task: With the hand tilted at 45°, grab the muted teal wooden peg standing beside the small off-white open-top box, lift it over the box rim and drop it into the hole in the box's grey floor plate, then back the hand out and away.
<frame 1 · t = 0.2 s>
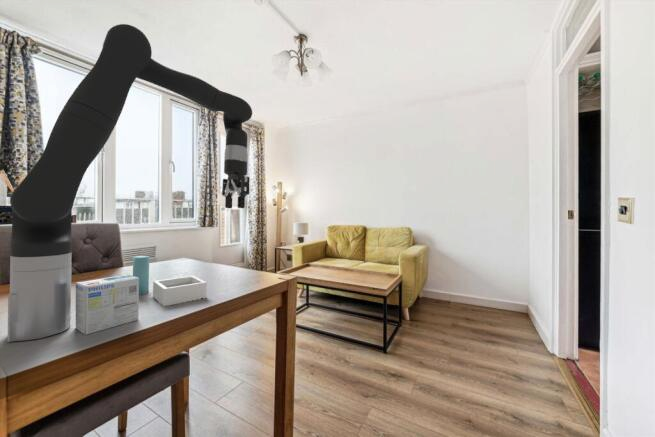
hand: (234, 208, 91), 29 cm above the table, tool pointing down, fingers open, 8 cm apart
peg: (140, 293, 89), on the table
hole box: (179, 297, 85), on the table
light bulb box: (108, 324, 64), on the table
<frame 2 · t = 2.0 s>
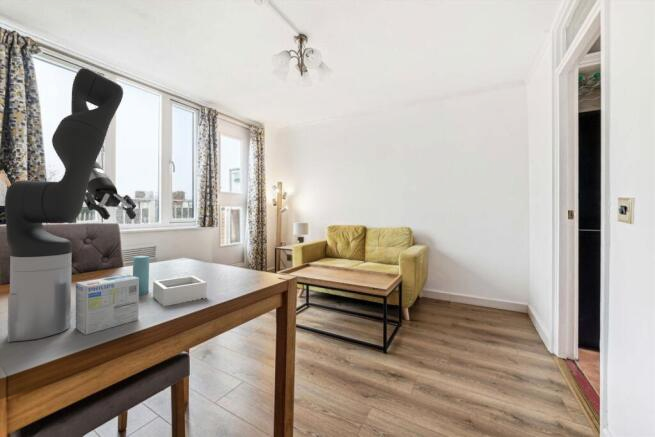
hand: (121, 217, 91), 25 cm above the table, tool tilted 45°, fingers open, 8 cm apart
nothing on the table moved.
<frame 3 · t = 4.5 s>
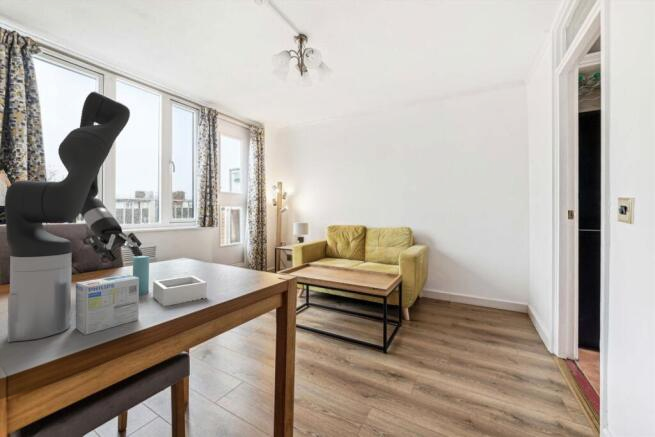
hand: (128, 258, 90), 11 cm above the table, tool tilted 45°, fingers open, 8 cm apart
nothing on the table moved.
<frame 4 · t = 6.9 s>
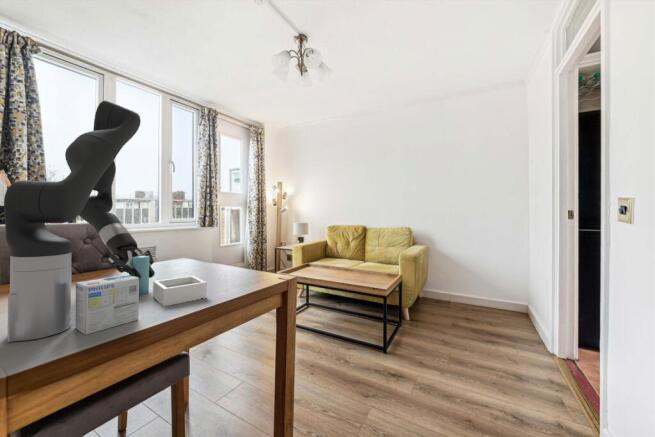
hand: (145, 277, 88), 5 cm above the table, tool tilted 45°, fingers closed on peg, 4 cm apart
peg: (140, 292, 89), on the table, touching gripper
everything else where it was.
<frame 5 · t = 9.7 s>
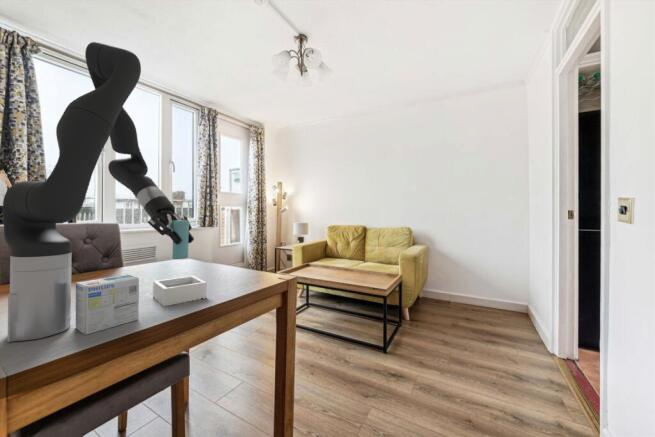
hand: (185, 241, 85), 18 cm above the table, tool tilted 45°, fingers closed on peg, 4 cm apart
peg: (180, 258, 85), point 13 cm above the table, touching gripper
everything else where it was.
when the fingers open (7 cm above the table, at t = 12.6 s): peg drops 1 cm, resting in hole box.
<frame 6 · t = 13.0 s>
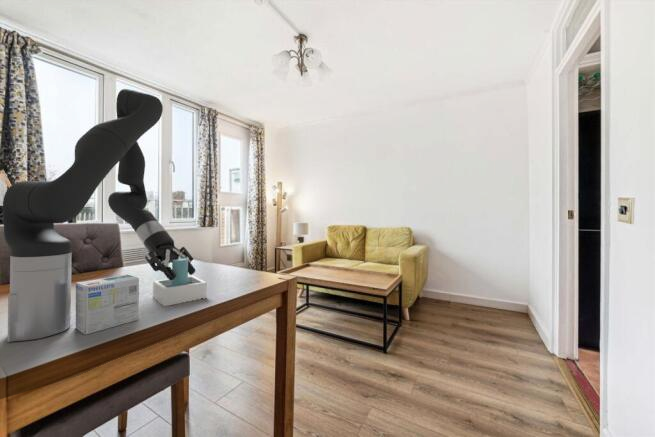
hand: (183, 275, 85), 7 cm above the table, tool tilted 45°, fingers open, 7 cm apart
peg: (179, 297, 85), resting in hole box
everything else where it was.
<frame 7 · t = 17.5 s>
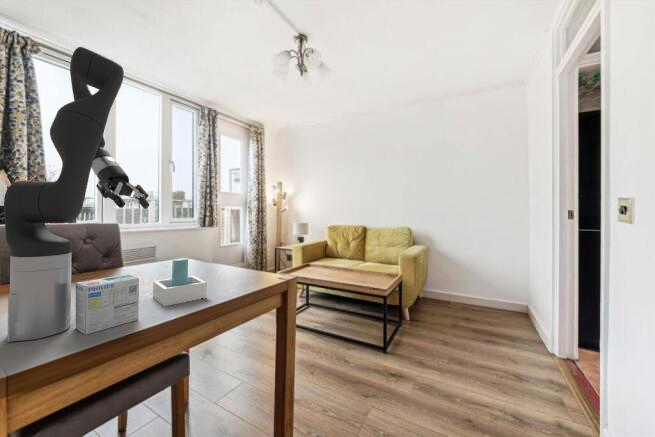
hand: (135, 206, 89), 29 cm above the table, tool tilted 45°, fingers open, 8 cm apart
nothing on the table moved.
at the end: peg 0.1 cm off-centre on the hole box, point 0.0 cm above the hole box's base; peg tilted 0°; the gripper is holding nothing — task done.
